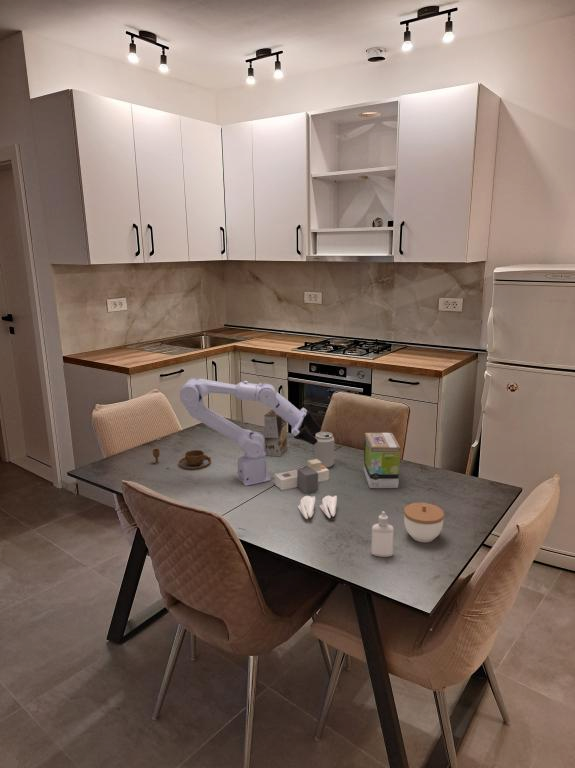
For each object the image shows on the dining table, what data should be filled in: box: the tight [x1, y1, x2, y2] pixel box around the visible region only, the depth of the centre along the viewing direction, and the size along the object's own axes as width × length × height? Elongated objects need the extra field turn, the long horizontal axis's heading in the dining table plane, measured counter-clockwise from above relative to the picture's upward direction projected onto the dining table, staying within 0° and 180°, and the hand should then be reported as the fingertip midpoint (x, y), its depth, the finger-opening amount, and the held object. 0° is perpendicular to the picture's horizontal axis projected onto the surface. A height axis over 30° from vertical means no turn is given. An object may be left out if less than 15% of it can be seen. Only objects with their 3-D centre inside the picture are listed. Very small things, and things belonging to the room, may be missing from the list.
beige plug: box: [306, 458, 321, 472], centre depth 190 cm, size 4×4×3 cm
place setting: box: [152, 448, 212, 471], centre depth 207 cm, size 18×20×6 cm
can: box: [313, 431, 335, 469], centre depth 202 cm, size 8×8×12 cm
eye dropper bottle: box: [370, 511, 395, 558], centre depth 144 cm, size 4×6×12 cm
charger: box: [296, 466, 319, 495], centre depth 184 cm, size 4×9×6 cm, turn 26°
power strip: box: [274, 465, 330, 491], centre depth 189 cm, size 18×6×4 cm, turn 116°
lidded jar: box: [403, 502, 445, 543], centre depth 152 cm, size 11×11×9 cm
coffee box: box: [263, 409, 288, 457], centre depth 215 cm, size 9×6×16 cm
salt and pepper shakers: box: [297, 495, 338, 520], centre depth 166 cm, size 12×4×11 cm
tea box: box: [363, 432, 401, 489], centre depth 189 cm, size 15×10×15 cm
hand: (317, 436), depth 188 cm, fingers open, 7 cm apart
